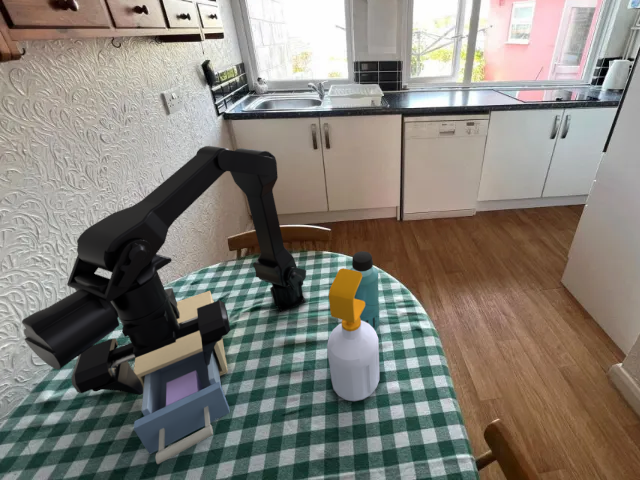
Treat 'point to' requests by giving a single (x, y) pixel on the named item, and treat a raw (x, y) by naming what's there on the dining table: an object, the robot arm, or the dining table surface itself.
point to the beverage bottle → (367, 287)
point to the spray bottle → (351, 341)
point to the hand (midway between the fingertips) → (176, 376)
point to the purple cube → (182, 387)
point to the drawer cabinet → (180, 342)
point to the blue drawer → (180, 407)
